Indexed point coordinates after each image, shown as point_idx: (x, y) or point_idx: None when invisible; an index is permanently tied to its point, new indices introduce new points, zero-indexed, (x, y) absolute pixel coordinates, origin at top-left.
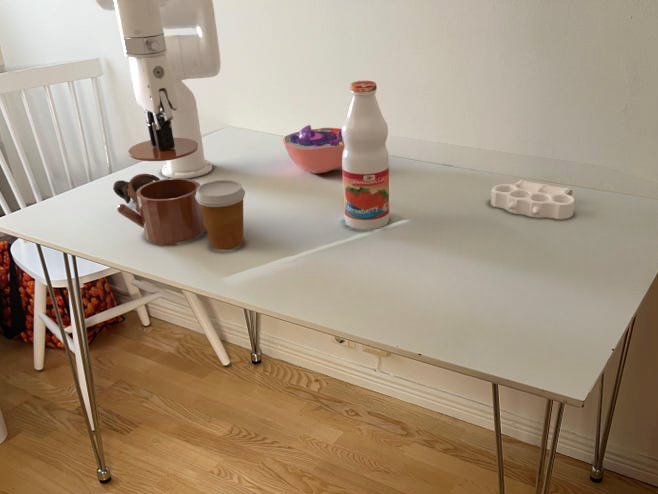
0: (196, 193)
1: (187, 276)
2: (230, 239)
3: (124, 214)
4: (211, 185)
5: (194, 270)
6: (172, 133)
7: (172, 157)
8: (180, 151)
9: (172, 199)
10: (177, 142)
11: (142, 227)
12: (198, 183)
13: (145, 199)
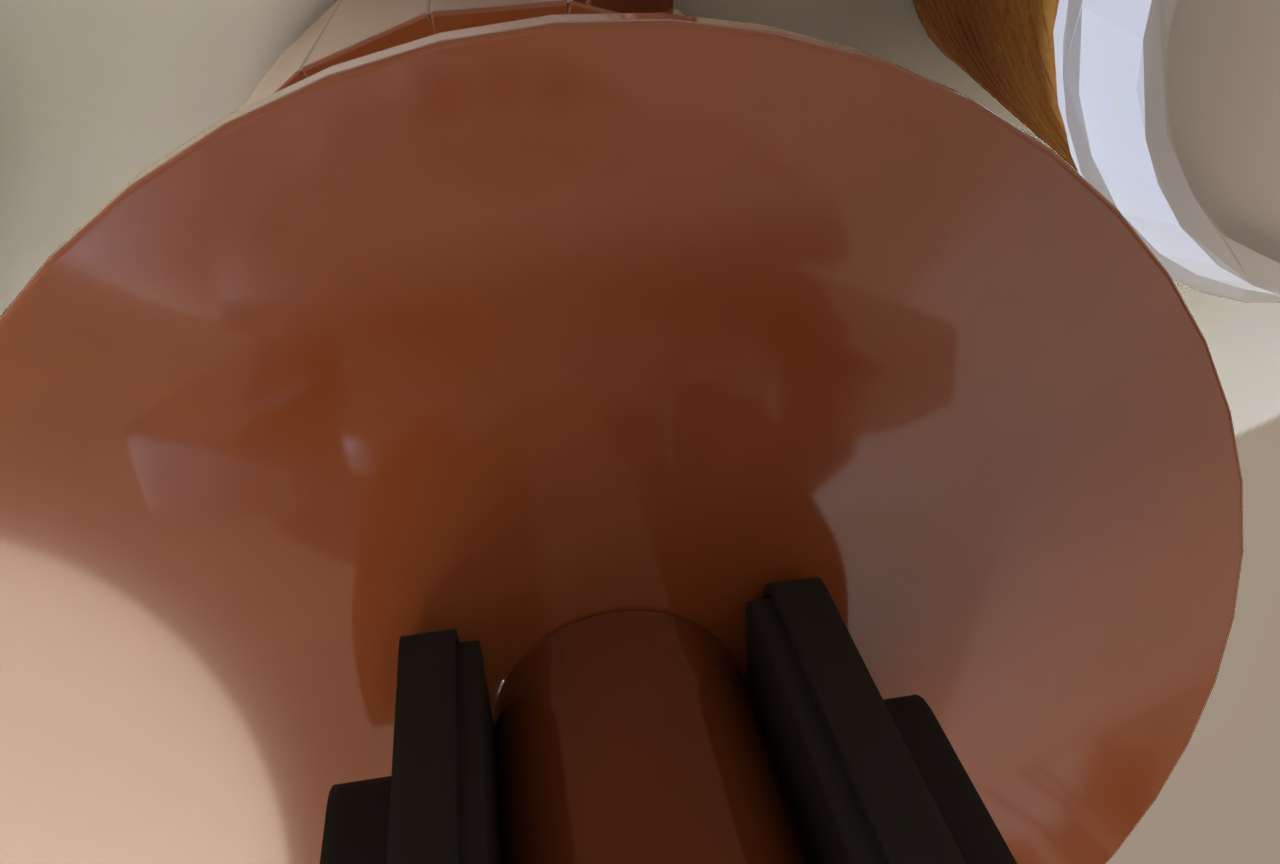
0: (1233, 283)
1: (1246, 376)
2: None
3: None
4: (1213, 43)
5: (1209, 314)
6: (910, 761)
7: (1211, 682)
8: (1059, 519)
9: None
10: (430, 419)
11: None
12: (575, 12)
13: None
